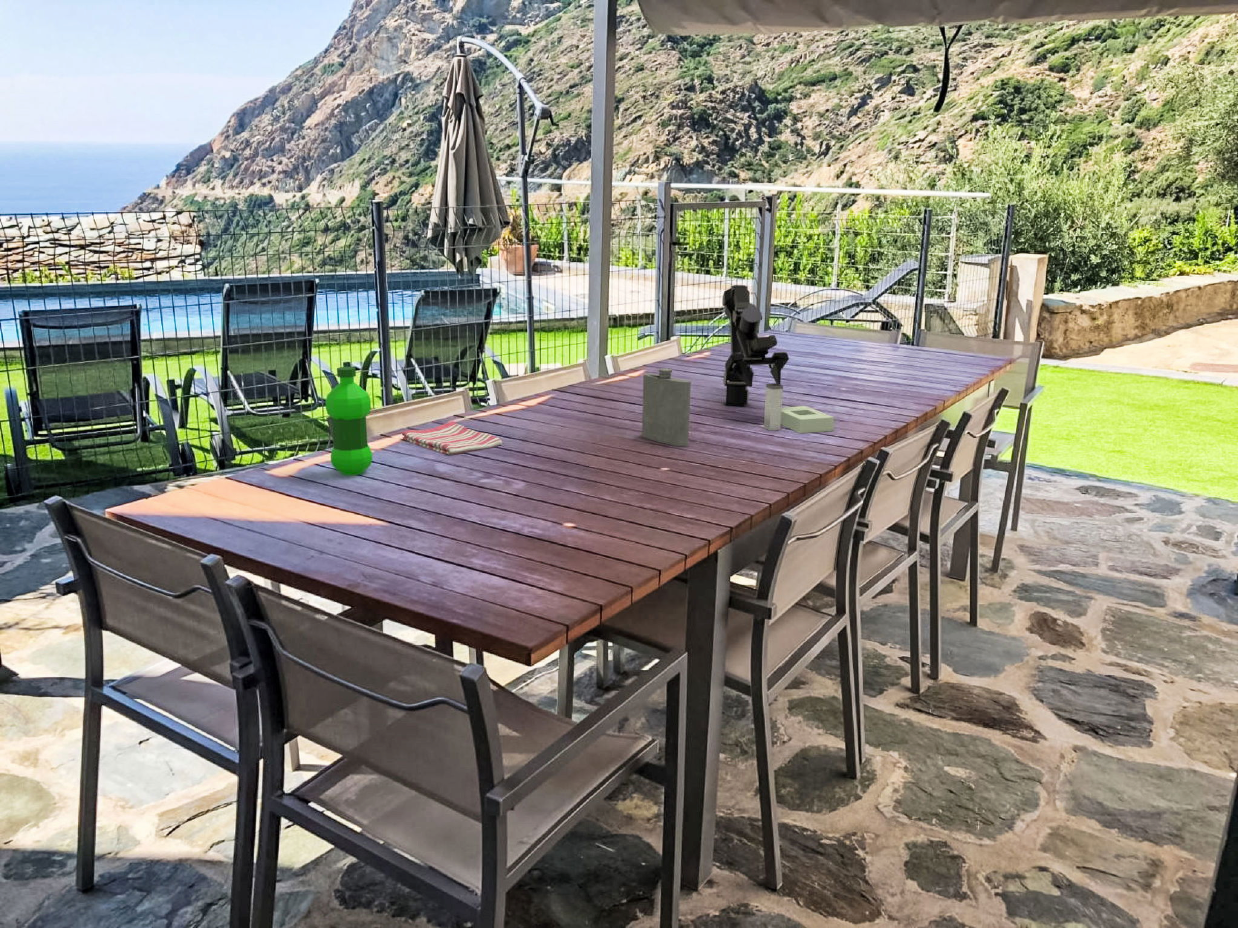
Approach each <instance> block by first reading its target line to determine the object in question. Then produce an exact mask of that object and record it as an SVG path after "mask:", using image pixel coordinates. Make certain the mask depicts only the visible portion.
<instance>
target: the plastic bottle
mask: <svg viewBox="0 0 1238 928" xmlns="http://www.w3.org/2000/svg"><path fill="white" fill-rule="evenodd" d="M336 373H337V374H336V377H337V378H339V382H338V384H337V385H335V386H334V388H332V390H330V392H329V393H327V394H326V398H325V410H326V414H327V415H328V416H329V417H330V418H331V419H332V420H331V421H332V434H333V435H332V437H333V447H332V450H331V453H330V462H331V465H332V466H333V468H334V469H335V470H336V471H338V472H339V473H341V475H344V476H357V475H361V474H363V473H364V472H365V471H366V470H368V469H369V467H370V466H371V464H372V463H373V452H372V451H373V450H372V449H371V447H370V446H369V444H368V432H367V431H368V429H367V416H368V415H369V414H370V412H371V408H372V406H371V403H372V402H371V397H370V395H369V393H368V392H367V391H366V390H365V389H363V388H362V387H361V386H360V385H358V384H357V383H356V382H355V379H354V377H356V376H357V373H356V367H355V366H341V367H337V368H336Z"/></svg>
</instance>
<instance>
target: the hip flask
mask: <svg viewBox="0 0 1238 928" xmlns="http://www.w3.org/2000/svg"><path fill="white" fill-rule="evenodd" d="M671 373H673V369H672V368H667V367H663V368H658V373H650V372H649V373H647V372H646V373H643V382H642V383H643V384H642V385H643V387H642V388H643V389H642V419H641V420H642V423H641V424H642V426H641V437H642V438H645V439H648V440H651V441H654V442H658V443H662V444H667V445H672V446H677V447H688V446H689V442H690V441H689V438H690V435H689V434H690V413H691V412H690V411H691V410H690V409H691V406H690V405H691V383H692V382H691V380H689V379H681V378H675V377H672V374H671Z"/></svg>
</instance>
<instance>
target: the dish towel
mask: <svg viewBox="0 0 1238 928" xmlns="http://www.w3.org/2000/svg"><path fill="white" fill-rule="evenodd" d="M401 435H402V436H403V437H402V440H403V441H407V442H408V443H410V444H414V445H418V446H419V447H423V448H424V449H428V450H431V451H435V452H437V453H440V454H444V455H447V456H453V455H459V454H463V453H469V452H476V451H481V450H485V449H491V448H494V447H501V446H502V445H503V441H502V439H500V438H499V437H496V436H494V435H493V434H490V433H486V432H479V431H476V430H473V429H468V428H466V427H465V426H464V425H462V424H459V423H456V422H455V420H451V421H448V422H446V423H444V424H441V425H438V426H436V427H433V428H427V429H423V430H415V429H411V430H410V429H409V430H404V431H402V432H401Z"/></svg>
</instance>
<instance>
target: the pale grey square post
mask: <svg viewBox="0 0 1238 928" xmlns="http://www.w3.org/2000/svg"><path fill="white" fill-rule="evenodd" d="M783 390H784V385H783V384H781V383H780V384H778V383H776V382H775V383H766V385H765V399H764V402H765V403H764V417H763V419H764V421H763V429H765V428H766V429H765V430H767V431H769V430H770V431H780V430H781V426H782V425H781V410H782V407H783V406H782V405H783V393H784V392H783Z"/></svg>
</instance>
